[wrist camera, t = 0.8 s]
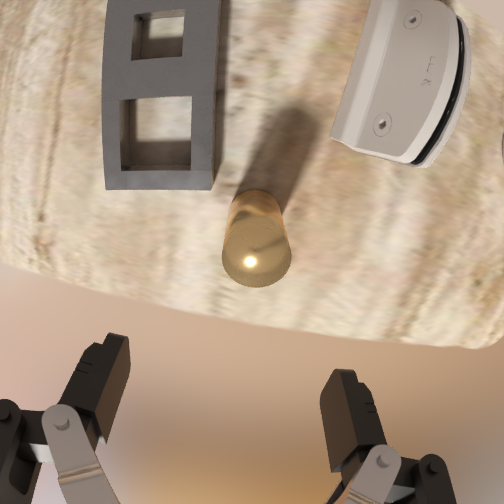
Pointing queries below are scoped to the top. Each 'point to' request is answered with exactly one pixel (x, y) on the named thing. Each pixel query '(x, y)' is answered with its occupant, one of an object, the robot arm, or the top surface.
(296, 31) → the top surface
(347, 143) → the grey curved housing
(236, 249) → the cylinder
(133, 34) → the grey flat block
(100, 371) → the robot arm
